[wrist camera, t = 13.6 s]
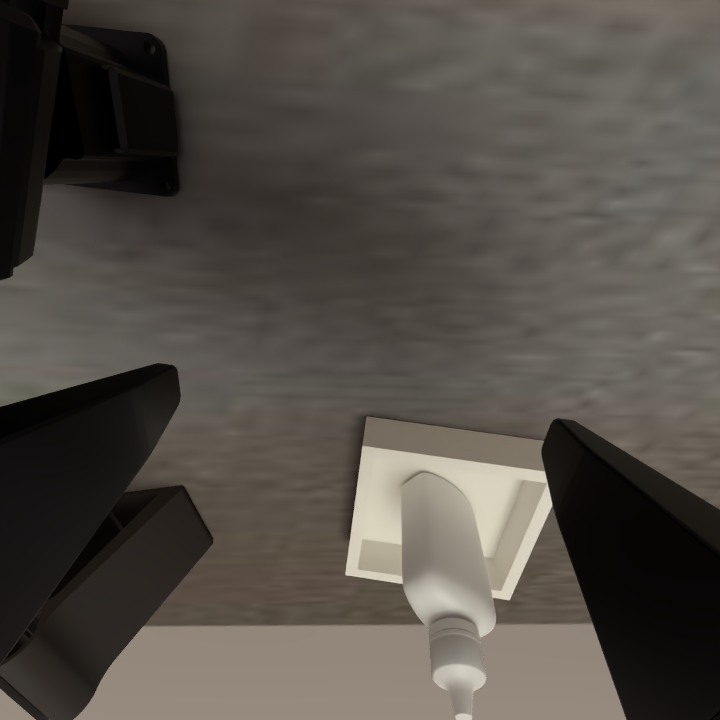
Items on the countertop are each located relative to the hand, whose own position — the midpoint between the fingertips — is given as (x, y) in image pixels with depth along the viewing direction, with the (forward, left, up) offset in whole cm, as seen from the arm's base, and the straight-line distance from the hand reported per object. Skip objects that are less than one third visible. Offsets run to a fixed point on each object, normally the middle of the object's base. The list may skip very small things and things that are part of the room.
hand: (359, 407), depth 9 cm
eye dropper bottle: (+6, -15, -13) cm, 20 cm away
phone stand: (-16, -22, -13) cm, 30 cm away
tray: (+6, -15, -13) cm, 21 cm away
